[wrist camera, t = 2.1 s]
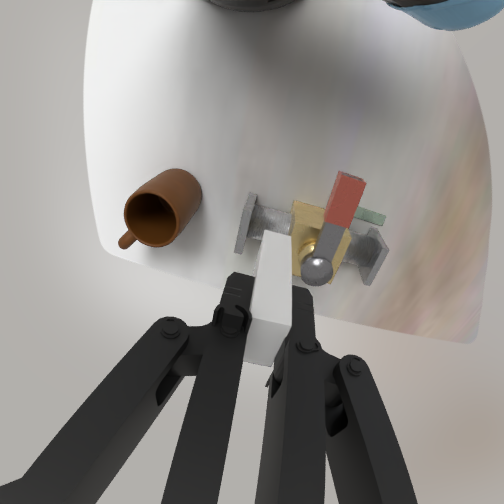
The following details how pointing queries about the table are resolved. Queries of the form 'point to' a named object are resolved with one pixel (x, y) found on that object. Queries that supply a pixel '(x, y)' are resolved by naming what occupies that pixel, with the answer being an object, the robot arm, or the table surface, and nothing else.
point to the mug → (161, 209)
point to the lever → (332, 229)
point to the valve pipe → (315, 235)
